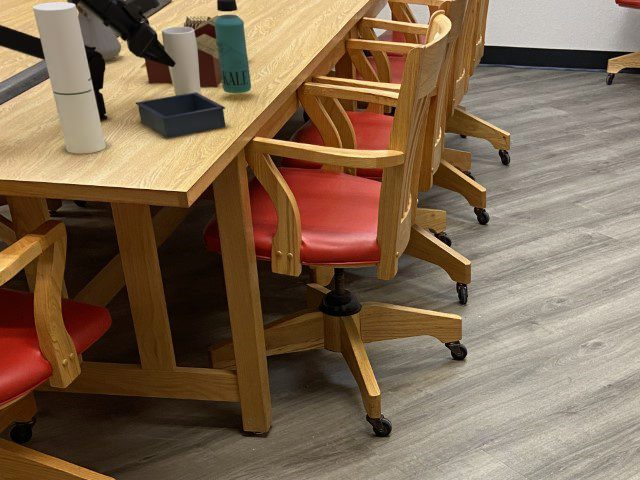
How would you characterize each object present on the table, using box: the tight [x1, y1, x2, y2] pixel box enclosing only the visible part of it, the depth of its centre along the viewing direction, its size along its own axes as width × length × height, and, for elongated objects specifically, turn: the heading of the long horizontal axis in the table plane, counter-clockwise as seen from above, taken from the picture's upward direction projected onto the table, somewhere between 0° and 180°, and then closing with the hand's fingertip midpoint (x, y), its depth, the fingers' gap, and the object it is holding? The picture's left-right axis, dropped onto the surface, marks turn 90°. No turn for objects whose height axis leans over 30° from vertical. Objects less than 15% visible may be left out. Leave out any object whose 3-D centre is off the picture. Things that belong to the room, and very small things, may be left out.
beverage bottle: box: [214, 0, 252, 94], centre depth 210 cm, size 6×7×20 cm
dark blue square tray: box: [135, 92, 226, 139], centre depth 198 cm, size 13×13×4 cm
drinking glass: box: [161, 26, 202, 96], centre depth 207 cm, size 7×7×15 cm
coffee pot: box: [76, 3, 122, 63], centre depth 232 cm, size 21×12×15 cm, turn 12°
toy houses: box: [140, 15, 222, 88], centre depth 237 cm, size 45×20×10 cm, turn 2°
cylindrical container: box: [32, 1, 106, 155], centre depth 179 cm, size 7×7×25 cm
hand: (171, 60), depth 205 cm, fingers open, 9 cm apart
